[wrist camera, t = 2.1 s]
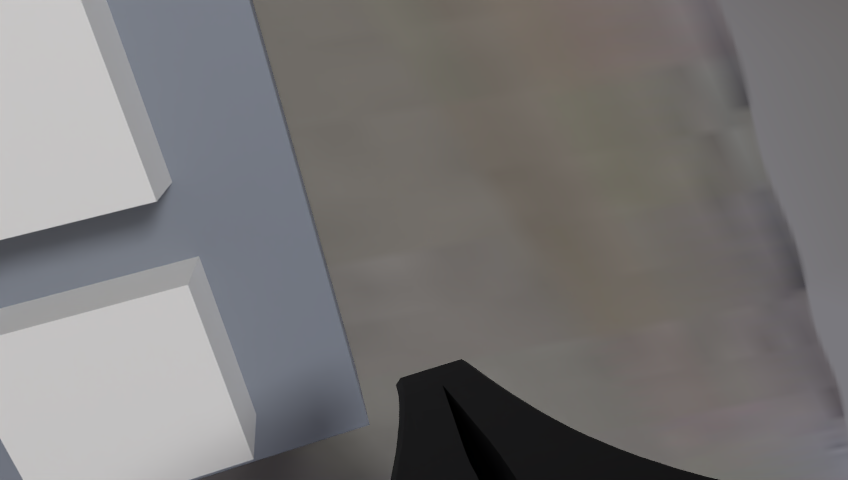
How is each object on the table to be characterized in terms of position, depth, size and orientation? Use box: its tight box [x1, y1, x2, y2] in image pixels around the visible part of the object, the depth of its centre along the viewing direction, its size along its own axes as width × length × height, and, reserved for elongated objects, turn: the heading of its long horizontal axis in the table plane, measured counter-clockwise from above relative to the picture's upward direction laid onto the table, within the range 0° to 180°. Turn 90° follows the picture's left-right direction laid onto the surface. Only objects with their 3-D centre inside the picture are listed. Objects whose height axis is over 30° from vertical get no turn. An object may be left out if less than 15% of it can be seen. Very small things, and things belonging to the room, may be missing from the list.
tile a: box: [0, 256, 256, 480], centre depth 15 cm, size 5×5×2 cm
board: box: [0, 0, 369, 480], centre depth 16 cm, size 15×13×4 cm
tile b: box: [0, 0, 172, 240], centre depth 12 cm, size 5×5×2 cm
